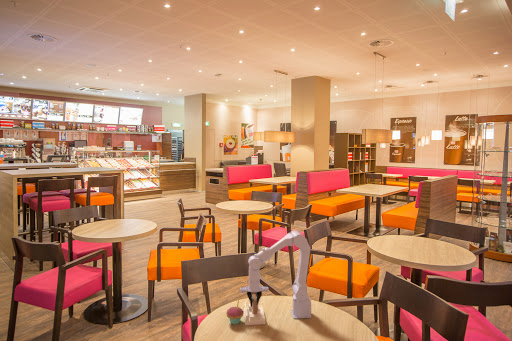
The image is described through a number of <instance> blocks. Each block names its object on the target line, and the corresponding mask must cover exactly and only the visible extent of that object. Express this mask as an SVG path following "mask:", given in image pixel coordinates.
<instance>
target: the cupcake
mask: <svg viewBox="0 0 512 341" xmlns="http://www.w3.org/2000/svg"><path fill="white" fill-rule="evenodd" d="M239 303H240V299H237V303H236V306H231V307H230V308H228V309H227V310H226V312H225V313H226V317H227V318H228V320H229V321H230V324H232V325H238V324H240V322H241V319H242V317H244V309H242V308H241V307H239Z"/></svg>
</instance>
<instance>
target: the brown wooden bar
mask: <svg viewBox="0 0 512 341" xmlns="http://www.w3.org/2000/svg"><path fill="white" fill-rule="evenodd" d="M252 310H253V314H257V299H256V293H252Z"/></svg>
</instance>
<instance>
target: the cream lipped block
mask: <svg viewBox="0 0 512 341" xmlns="http://www.w3.org/2000/svg"><path fill="white" fill-rule="evenodd" d="M243 306H244V307H243V311H244V312H243V317H244V325H245V326H253V325H254V326H256V325H266V317H265V312H264V308H263V306H261V307H260V306H259V305H258V306H257V314H253V310H252V307H251V304H248V306H247V302H244V305H243Z"/></svg>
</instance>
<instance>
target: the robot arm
mask: <svg viewBox="0 0 512 341" xmlns="http://www.w3.org/2000/svg"><path fill="white" fill-rule="evenodd" d="M294 246H295V247H297V248H298V249H299V257H298V264H297V265H298V266H297V273H296V278H295V279H294V282H293V284H292V286H291V291H292V292H293V295H292V309H290V313H291V315H292V318H293V319H295V320H297V319H311V318H312V299H311V298H310V297H309V293H308V284H307V278H308V277H307V276H308V271H309V270H308V269H309V263H310V255H311V246H310V244H309V242H308V239H307V238H306V237H305V236H304V235H303V234H302V233H301V232H300V231H299V230H297V229H293V230H292V231H290V232H288V233H287V234H286V235H285V236H283V237H282V238H281V239H279V240H278V241H277V242H275V243H274V244H273V245H271V246H270V247H262V248H261V250H260V251H258V252H257V253H255V254H253V255H250V256H249V258H248V260H247V263H248V265H249V266H248V286H245V287H240V288H239V294H243V293H246V295H247V298H248V300H249V303H250V304H251V307H252V294H253V293H255V294H256V299H257V306H258V307H259V302H260V300H261V297H262V296H263V293H265V292H266V293H269V287H268V286H261V285H260V284H261V282H260V281H261V278H260V277H261V274H260V273H261V271H260V268H261V266H262V265H263V264H265V262H267V261H269V260H271V259H272V258H273V256H274V254H275V253H277V252H279V251H280V250H282V249H283V248H285V247H294Z"/></svg>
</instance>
